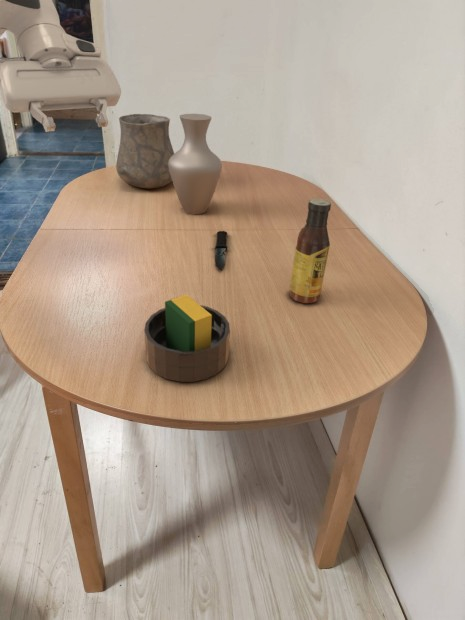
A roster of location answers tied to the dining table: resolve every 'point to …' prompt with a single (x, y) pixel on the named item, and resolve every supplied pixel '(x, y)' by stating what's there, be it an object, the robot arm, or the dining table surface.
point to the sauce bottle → (311, 254)
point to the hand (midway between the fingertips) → (78, 127)
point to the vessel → (144, 150)
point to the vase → (195, 166)
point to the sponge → (187, 325)
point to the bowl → (186, 362)
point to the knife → (220, 249)
